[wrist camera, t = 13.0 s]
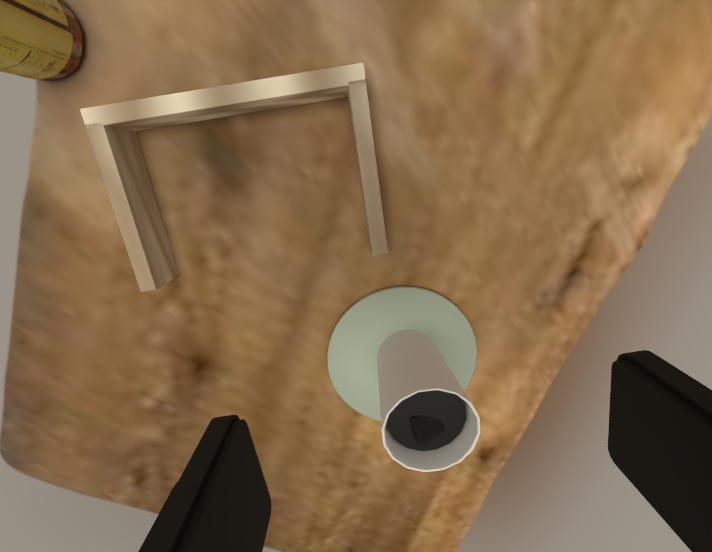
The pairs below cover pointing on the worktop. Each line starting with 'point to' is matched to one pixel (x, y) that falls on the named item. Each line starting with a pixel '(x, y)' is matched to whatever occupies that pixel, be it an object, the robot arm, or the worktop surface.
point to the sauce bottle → (39, 39)
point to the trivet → (383, 318)
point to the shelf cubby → (121, 120)
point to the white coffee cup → (423, 405)
